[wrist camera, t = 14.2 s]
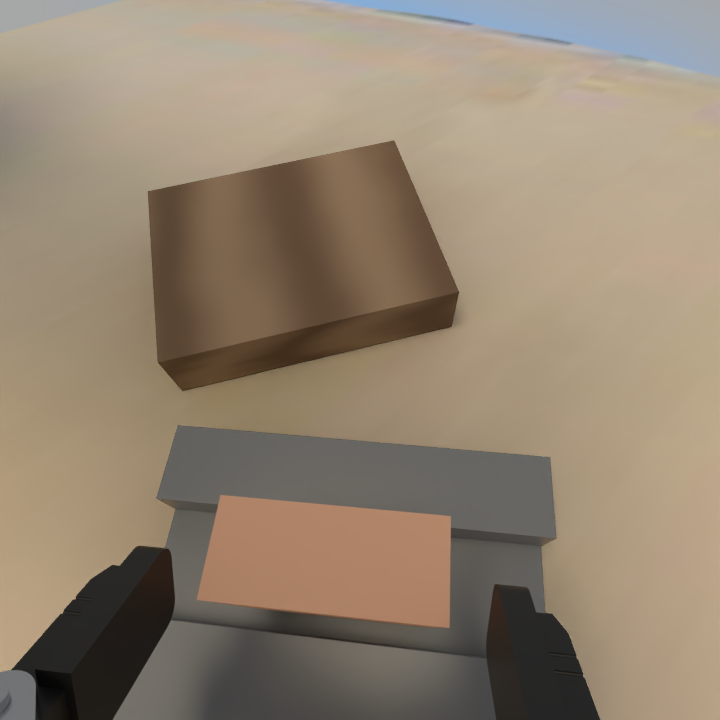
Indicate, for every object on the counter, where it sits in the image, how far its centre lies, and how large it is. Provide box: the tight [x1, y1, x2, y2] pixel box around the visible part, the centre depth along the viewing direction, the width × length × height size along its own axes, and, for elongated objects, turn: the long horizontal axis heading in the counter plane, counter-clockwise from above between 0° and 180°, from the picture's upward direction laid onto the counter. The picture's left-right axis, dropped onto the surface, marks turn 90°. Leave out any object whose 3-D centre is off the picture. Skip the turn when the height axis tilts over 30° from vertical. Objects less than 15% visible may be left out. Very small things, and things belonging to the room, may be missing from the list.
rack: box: [113, 425, 556, 720], centre depth 19 cm, size 15×11×3 cm
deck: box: [148, 141, 459, 391], centre depth 26 cm, size 14×11×3 cm
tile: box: [197, 495, 451, 628], centre depth 16 cm, size 6×2×8 cm, turn 84°
